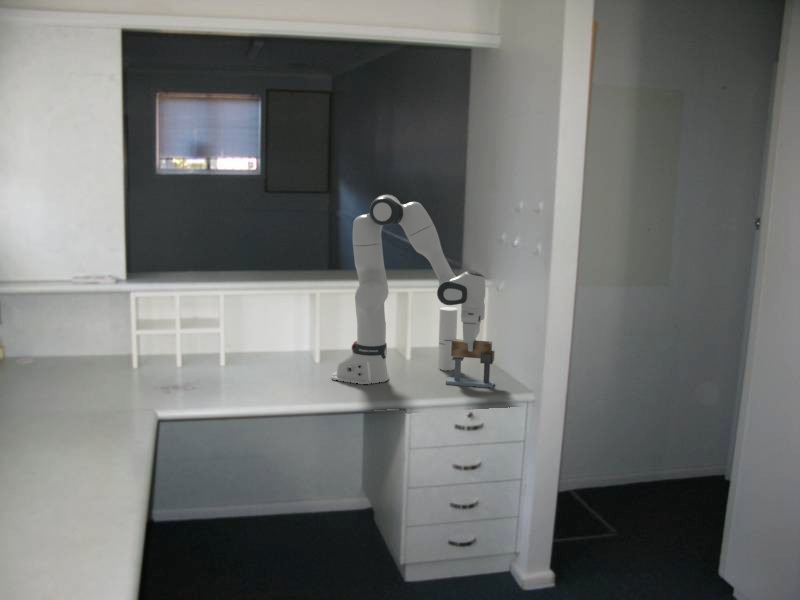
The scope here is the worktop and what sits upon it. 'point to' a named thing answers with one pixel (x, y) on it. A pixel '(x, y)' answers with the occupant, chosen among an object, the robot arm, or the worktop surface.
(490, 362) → the stand
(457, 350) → the rail
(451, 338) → the cylindrical container
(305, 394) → the worktop surface
